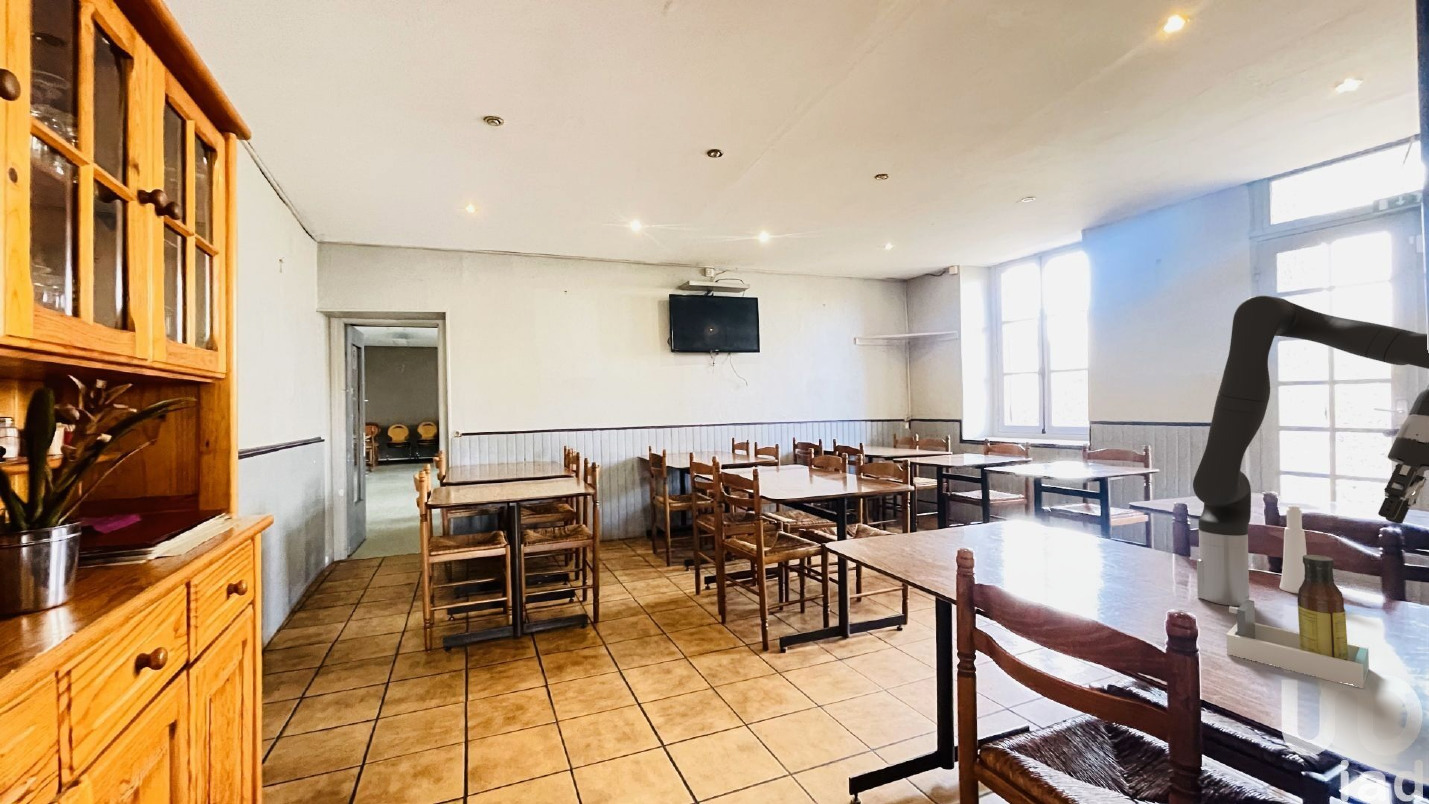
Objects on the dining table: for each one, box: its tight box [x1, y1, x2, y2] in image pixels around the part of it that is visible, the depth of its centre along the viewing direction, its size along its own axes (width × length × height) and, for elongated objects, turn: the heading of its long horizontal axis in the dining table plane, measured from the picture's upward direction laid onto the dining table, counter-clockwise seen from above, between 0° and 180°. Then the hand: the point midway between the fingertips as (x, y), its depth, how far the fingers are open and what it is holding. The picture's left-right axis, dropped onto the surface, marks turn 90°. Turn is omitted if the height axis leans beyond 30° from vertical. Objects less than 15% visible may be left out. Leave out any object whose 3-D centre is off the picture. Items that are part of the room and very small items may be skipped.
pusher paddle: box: [1228, 599, 1256, 639], centre depth 117 cm, size 3×9×8 cm, turn 128°
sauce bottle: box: [1296, 554, 1348, 661], centre depth 108 cm, size 7×6×20 cm
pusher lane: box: [1225, 622, 1370, 690], centre depth 111 cm, size 18×12×4 cm, turn 38°
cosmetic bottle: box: [1279, 504, 1308, 595], centre depth 149 cm, size 6×6×22 cm
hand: (1389, 519), depth 112 cm, fingers open, 8 cm apart
